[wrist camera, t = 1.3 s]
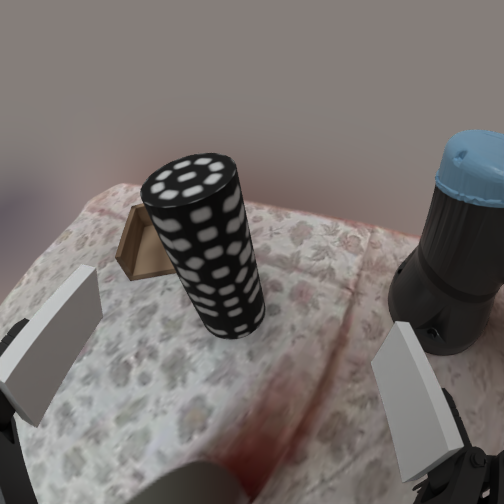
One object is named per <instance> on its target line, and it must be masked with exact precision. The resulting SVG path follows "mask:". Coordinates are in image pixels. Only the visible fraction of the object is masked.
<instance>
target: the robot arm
mask: <svg viewBox="0 0 504 504" xmlns="http://www.w3.org/2000/svg"><path fill="white" fill-rule="evenodd" d="M435 180H436V185H435V189H434V193H433V197H432V202H431V205H430V209H429V213H428V216H427V220H426V223H425V226H424V229H423V233H422V236H421V239H420V242H419V245H418V246H417V247H416V248H415V249H414V250H413V251H412V253H411V254H410V255H409V256H408V257H407V258H406V259H405V261H403V263H402V264H401V265H400V266H399V267H398V269H397V271H396V272H395V275H394V277H393V280H392V283H391V286H390V289H389V295H388V304H389V310H390V314H391V317H392V319H393V321H394V325H393V327H392V329H391V330H390V332H389V334H388V336H387V337H386V339H385V341H384V342H383V344H382V346H381V347H380V349H379V351H378V352H377V354H376V356H375V357H374V359H373V360H372V362H371V365H372V368H373V371H374V375H375V378H376V381H377V384H378V388H379V391H380V395H381V398H382V402H383V405H384V409H385V412H386V416H387V420H388V423H389V427H390V431H391V435H392V439H393V443H394V447H395V452H396V456H397V460H398V465H399V469H400V474H401V479H402V483H405V482H409V481H413V480H417V479H419V478H421V477H422V476H424V475H425V474H428V478H427V479H426V480H424V481H423V482H421V483H419V484H418V485H416V486H415V487H414V488H413V489H412V490H413V491H415V490H416V489H418V488H420V487H421V489H420V490H418V491H417V493H418V495H417V497H416V499H415V501H414V503H413V504H504V450H503V451H502V452H500V453H499V454H498V455H497V456H492V455H486V454H485V453H484V451H483V450H482V449H481V448H479V447H472V445H471V443H470V440H469V438H468V435H467V432H466V430H465V427H464V425H463V422H462V420H461V417H459V412H458V410H457V409H456V405H455V403H454V401H453V398H452V396H451V395H450V394H449V393H448V392H447V390H446V389H445V388H441V387H440V385H439V383H438V380H437V378H436V376H435V374H434V372H433V370H432V367H431V365H430V363H429V361H428V359H427V357H426V355H425V353H424V351H426V352H428V353H432V354H436V355H452V354H456V353H459V352H462V351H464V350H465V349H467V348H468V347H469V346H471V345H472V344H473V343H474V342H475V341H476V339H477V338H478V337H479V336H480V335H481V334H482V332H483V330H484V329H485V327H486V325H487V322H488V319H489V315H490V313H491V309H492V306H493V303H494V299H495V295H496V293H497V292H498V290H499V289H500V287H501V286H502V285H503V284H504V134H501V133H497V132H493V131H487V130H466V131H462V132H460V133H457V134H456V135H454V136H452V137H451V138H450V139H449V141H448V142H447V144H446V146H445V149H444V153H443V157H442V161H441V164H440V168H439V169H438V171H437V173H436V177H435ZM102 318H103V313H102V308H101V301H100V295H99V287H98V280H97V271H96V268H95V267H91V266H87V265H83V264H82V265H81V266H80V267H79V268H78V269H77V270H76V271H75V272H74V273H73V274H72V275H71V276H70V277H69V278H68V279H67V280H66V281H65V282H64V283H63V284H62V285H61V286H60V287H59V288H58V289H57V290H56V291H55V293H54V294H53V295H52V296H51V297H50V298H49V299H48V300H47V301H46V302H45V303H44V305H43V306H42V307H41V308H40V309H39V310H38V311H37V313H36V314H35V315H34V316H33V317H32V318H31V319H30V320H28V319H26V318H24V319H23V320H21V321H19V322H18V323H16V324H15V325H14V326H13V327H12V328H11V329H10V331H9V332H8V333H7V335H5V337H4V338H3V339H2V340H1V342H0V504H38V502H37V499H36V497H35V494H34V491H33V488H32V485H31V482H30V479H29V476H28V472H27V469H26V466H25V462H24V458H23V454H22V450H21V446H20V442H19V437H18V433H17V427H16V422H15V419H14V416H13V415H14V413H15V411H16V412H17V413H18V415H19V416H20V417H21V419H23V420H24V421H26V422H28V423H29V424H31V425H33V426H34V427H36V428H37V427H38V426H39V424H40V422H41V420H42V418H43V416H44V414H45V412H46V410H47V408H48V406H49V405H50V403H51V401H52V399H53V397H54V396H55V394H56V392H57V390H58V388H59V387H60V385H61V383H62V381H63V380H64V378H65V376H66V375H67V373H68V371H69V370H70V368H71V366H72V365H73V363H74V361H75V360H76V358H77V356H78V355H79V353H80V352H81V350H82V348H83V347H84V345H85V344H86V342H87V341H88V339H89V337H90V336H91V334H92V333H93V331H94V330H95V328H96V327H97V325H98V324H99V322H100V321H101V319H102ZM489 489H490V493H489V495H488V496H486V497H485V498H483V496H482V494H483V493H484V492H485V491H487V490H489Z"/></svg>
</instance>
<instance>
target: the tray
mask: <svg viewBox="0 0 504 504" xmlns="http://www.w3.org/2000/svg"><path fill="white" fill-rule="evenodd" d="M115 258H116V260H117V262H118V263H119V265H120V266H121V268H122V269H123V271H124V272H125V274H126V275H127V277H128V278H129V280H130V281H132V280H138V279H144V278H149V277H155V276H161V275H167V274H172V273H176V271H175V269H174V267H173V265H172V263H171V261H170V259H169V257H168V255H167V253H166V251H165V249H164V247H163V245H162V242H161V240H160V238H159V236H158V234H157V232H156V230H155V228H154V226H153V223H152V221H151V219H150V217H149V215H148V212H147V210H146V208H145V206H144V204H143V203H142V204H139V205H135V206H132V207H131V210H130V213H129V216H128V218H127V221H126V224H125V227H124V230H123V233H122V236H121V239H120V243H119V246H118V249H117V252H116V256H115Z"/></svg>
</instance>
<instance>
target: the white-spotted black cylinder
mask: <svg viewBox="0 0 504 504" xmlns="http://www.w3.org/2000/svg"><path fill="white" fill-rule="evenodd" d="M140 196H141V199H142V201H143V204H144V206H145V208H146V210H147V212H148V215H149V217H150V219H151V221H152V223H153V226H154V228H155V230H156V232H157V234H158V236H159V238H160V240H161V242H162V245H163V247H164V249H165V251H166V253H167V255H168V257H169V259H170V261H171V263H172V265H173V267H174V269H175V271H176V273H177V275H178V277H179V279H180V281H181V282H182V284H183V286H184V288H185V290H186V292H187V294H188V296H189V298H190V300H191V301H192V303H193V305H194V307H195V309H196V311H197V312H198V314H199V316H200V318H201V320H202V321H203V323H204V325H205V327H206V328H207V329H208V331H209V332H211V333H212V334H213V335H215V336H217V337H219V338H223V339H238V338H241V337H244V336H246V335H248V334H250V333H252V332H253V331H254V330H255V329H256V328H257V327H258V326H259V325H260V324H261V322H262V320H263V318H264V315H265V303H264V298H263V293H262V288H261V284H260V279H259V274H258V269H257V264H256V259H255V254H254V250H253V245H252V240H251V235H250V230H249V225H248V220H247V216H246V211H245V206H244V201H243V197H242V191H241V187H240V182H239V177H238V172H237V167H236V164H235V162H234V160H232V159H231V158H230V157H228V156H226V155H222V154H217V153H202V154H195V155H190V156H186V157H183V158H180V159H177V160H175V161H172V162H170V163H168V164H166V165H164V166H163V167H161V168H160V169H158V170H156V171H155V172H154V173H153V174H151V175H150V176H149V177H148V179H146V181H145V182H144V184H143V185H142V188H141V191H140Z"/></svg>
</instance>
